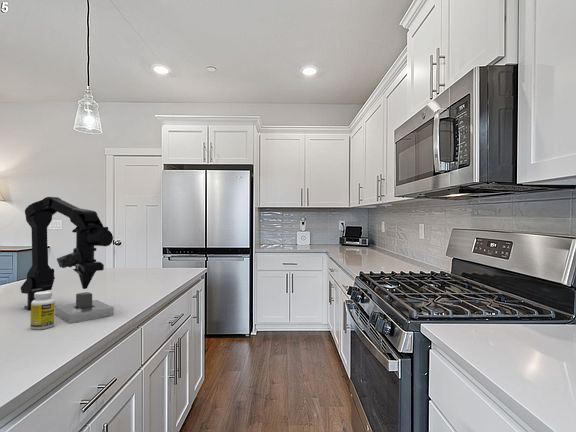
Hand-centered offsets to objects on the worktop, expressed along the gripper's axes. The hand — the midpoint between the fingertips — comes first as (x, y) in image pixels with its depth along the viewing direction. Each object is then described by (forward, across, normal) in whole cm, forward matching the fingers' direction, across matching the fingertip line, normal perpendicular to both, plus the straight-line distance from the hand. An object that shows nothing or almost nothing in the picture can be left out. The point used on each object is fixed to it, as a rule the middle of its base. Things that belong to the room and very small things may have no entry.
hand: (84, 288), depth 127 cm
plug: (+9, 0, 0) cm, 9 cm away
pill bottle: (+10, +6, -14) cm, 18 cm away
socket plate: (+9, 0, 0) cm, 9 cm away
